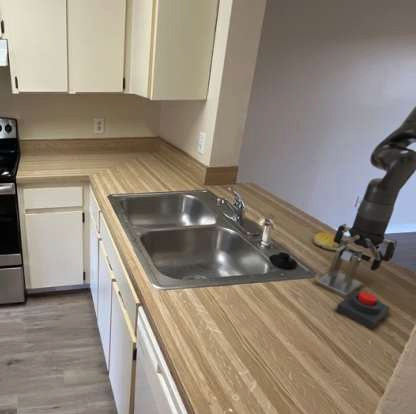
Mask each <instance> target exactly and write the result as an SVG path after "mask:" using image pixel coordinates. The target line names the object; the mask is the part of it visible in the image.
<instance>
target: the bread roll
mask: <svg viewBox="0 0 416 414" xmlns="http://www.w3.org/2000/svg"><path fill="white" fill-rule="evenodd" d="M334 237H335V235H332V234H331V233H328V232H319V233H317V234H315V235H314V238H313V243H314V244H315V245H317V247H322V248H323V249H325V250H329V251H334V252H336V250H337V249H338V248H339V244H338V243H335V242H334V241H333V240H334Z"/></svg>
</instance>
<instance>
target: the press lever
mask: <svg viewBox="0 0 416 414" xmlns="http://www.w3.org/2000/svg"><path fill="white" fill-rule="evenodd" d="M357 252H358V251H357V250H353V249H351V248H349V249H348V250H346V251H343V254H342V256H341V259H343V260H342V261H346V262H349V263H350V261H351V258H352V256H353V255H354V254H355V253H357ZM361 260H363V261H366V262H370V261H371V260H372V256H370V255H367V254H365V253H363V255H362V257H361Z"/></svg>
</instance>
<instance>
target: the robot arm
mask: <svg viewBox="0 0 416 414" xmlns="http://www.w3.org/2000/svg"><path fill="white" fill-rule="evenodd" d="M414 143H416V105H415V106H414V107H413V108H412V110H411V111H410V112H409V114H408V115H407V117H405V119H404V120H403V122H402V123H401V125H400V126H399V127H397V128H396V129H395V130H393V131H392V132H391V133H390V134H388V136H386V137H385V138H384V139H383V140H382V141H381V142H379V143H378V144H377V145H376V146H375V147H374V149H372V152H371V154H370V157H369V159H370V160H369V161H370V162H369V163H370V164H371V165H372V167H374V168H376V169H378V170H381V171H384V172H386V173H385V175H383V177H380V178H379V177H375V178H373V179H371V180H369V182H368V184H367V186H366V189H365V192H364V195H363V197H362V200H361V202H360V204H359V206H358V208H357V211H356V214H355V218H354V221H353V224H352V226H351V227H350V226H348V225H347V224H346V223H343V224H341V225H339V226H338V228H337V230H336V233H335V235H334V236H335V237H334V240H333V241H334V242H335V243H338V244H339V247H341V246H343V245H345V246H347V245H349V244H351V243H354V245H357V246H358V247H362V248H364V249H369V251H370V253H371V254H372V255H373V257H374V258H373V260H372V263H371V266H370V271H375V270H377V269H378V268H380V266H381V265H382V262H383V261H384V262H389V261H391V260H392V259H393V257H394V253H395V250H396V248H397V244H398V241H397V240H395V239H392V240H390V239H387V238H385V234H386V231H387V228H388V226H389V224H390V221H391V218H392V216H393V213H394V210H395V205H396V202H397V199H398V197H399V194H400V191H401V190H402V189H403V187H404V186H405V185H406V184H407V183H408V181H409V180H410V179H411V178H412V177H413V175H414V174H415V172H416V151H415V150H414V149H411V148H408V147H409V146H411V145H412V144H414ZM346 233H349V236H350V237H349V238H347V239H345V240H344V239H343V236H344V234H346ZM381 244H384V247H385V248H386V249H385V253H383V252H382V248H381Z"/></svg>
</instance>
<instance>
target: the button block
mask: <svg viewBox="0 0 416 414" xmlns="http://www.w3.org/2000/svg"><path fill="white" fill-rule="evenodd" d="M360 292H361V291H357V290H355V291H354V292H352V293H351V294H350V295H349V296H347V297H346V298H344V299H343V300H342V301H341V302H339V303H338V305H337V308H336V312H337V313H339V314H341V315H343V316H345V317H347V318H349V319H351V320H354V321H355V322H357V323H359V324H361V325H363V326H364V327H366V328H369V329H371V330H372V329H374V328H375V327H376V325H378V324H379V323H380V322H381V321H382V319H384V318H385V317H386V316H387V315H388V313H389V311H390V309H391V306H389V305H386V304H384V303H383V302H382V301H381V300H379V299H378V298H377V300H376V303H375V305H374V306H370V305H366V304H364V303H362V302H360V301H359V300H358V296H359V293H360Z"/></svg>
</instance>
